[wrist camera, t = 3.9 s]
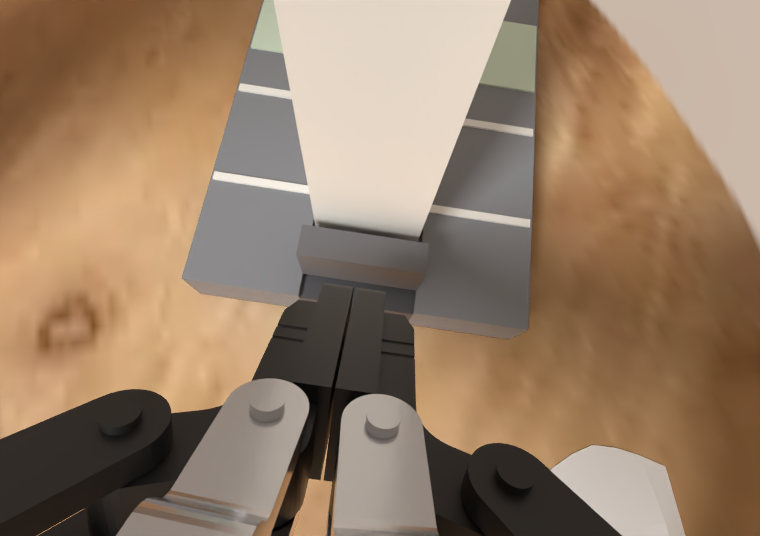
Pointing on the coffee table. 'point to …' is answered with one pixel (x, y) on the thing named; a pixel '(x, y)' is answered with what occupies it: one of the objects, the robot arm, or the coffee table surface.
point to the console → (370, 252)
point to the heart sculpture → (623, 490)
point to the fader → (382, 101)
